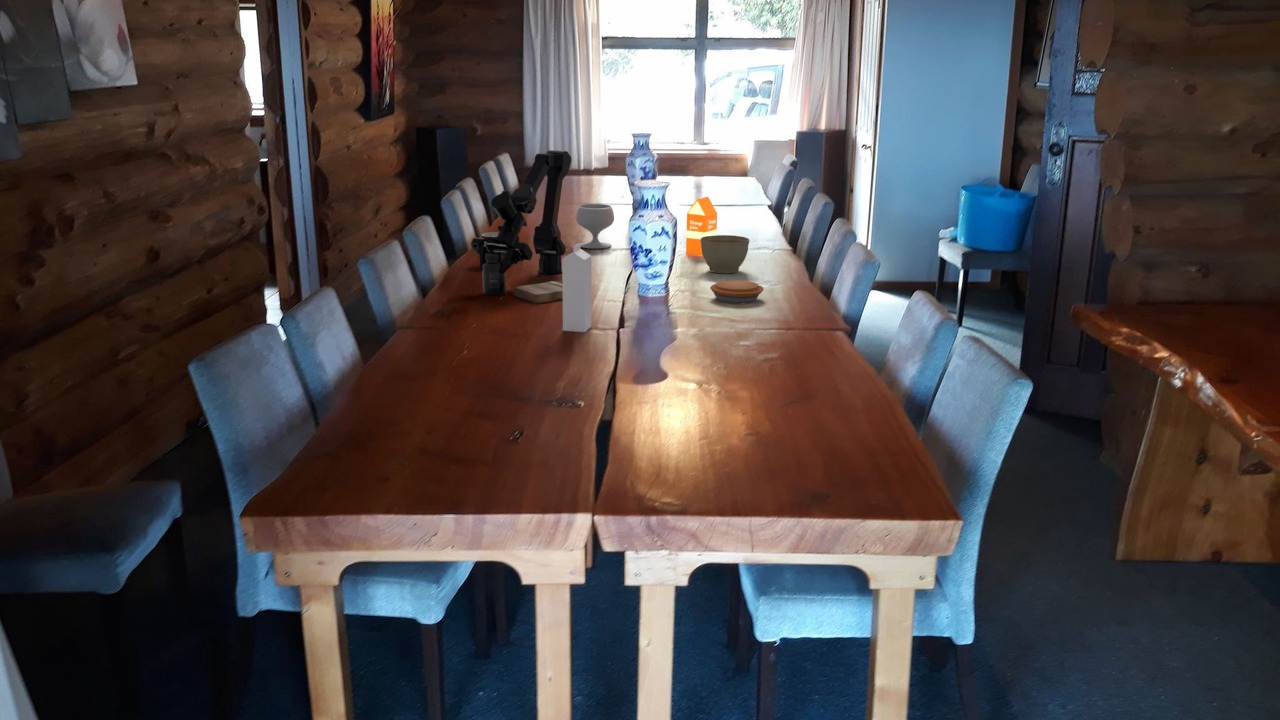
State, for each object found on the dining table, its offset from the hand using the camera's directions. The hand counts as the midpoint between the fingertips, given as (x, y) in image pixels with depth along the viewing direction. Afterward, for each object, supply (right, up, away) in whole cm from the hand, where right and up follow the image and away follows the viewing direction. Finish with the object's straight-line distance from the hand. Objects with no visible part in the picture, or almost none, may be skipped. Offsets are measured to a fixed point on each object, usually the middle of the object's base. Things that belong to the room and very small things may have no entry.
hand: (491, 272), depth 300 cm
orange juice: (+66, +12, +68) cm, 95 cm away
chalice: (+27, +16, +79) cm, 85 cm away
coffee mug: (-7, +7, +46) cm, 46 cm away
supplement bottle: (+1, -6, +3) cm, 7 cm away
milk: (+27, -18, -35) cm, 48 cm away
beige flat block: (+16, -7, 0) cm, 17 cm away
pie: (+72, -8, -1) cm, 72 cm away
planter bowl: (+71, +3, +38) cm, 81 cm away
